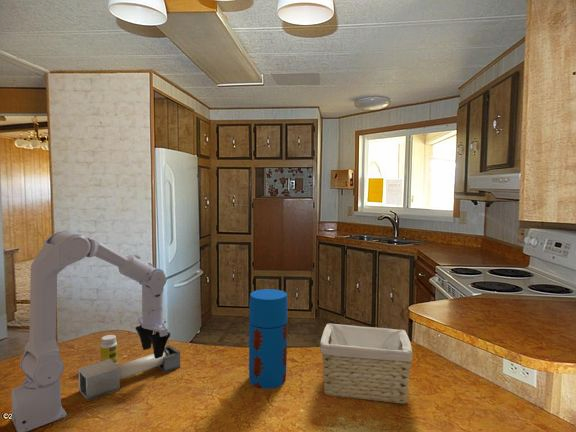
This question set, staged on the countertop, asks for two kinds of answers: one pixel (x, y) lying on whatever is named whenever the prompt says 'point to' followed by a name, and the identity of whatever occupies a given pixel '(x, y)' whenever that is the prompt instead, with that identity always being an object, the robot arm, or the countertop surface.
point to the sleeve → (99, 379)
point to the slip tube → (141, 364)
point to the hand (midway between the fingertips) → (152, 353)
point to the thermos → (267, 338)
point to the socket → (170, 360)
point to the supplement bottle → (109, 348)
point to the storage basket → (366, 362)
